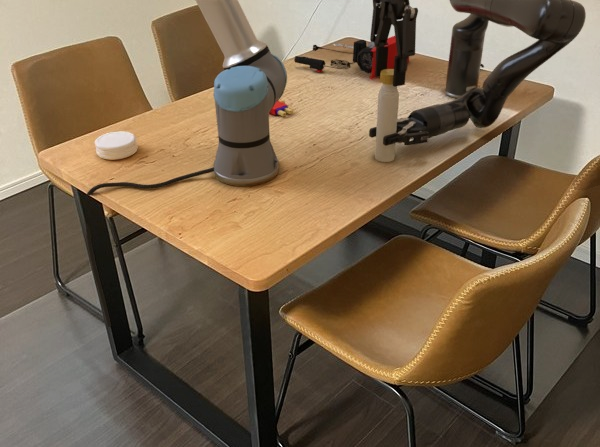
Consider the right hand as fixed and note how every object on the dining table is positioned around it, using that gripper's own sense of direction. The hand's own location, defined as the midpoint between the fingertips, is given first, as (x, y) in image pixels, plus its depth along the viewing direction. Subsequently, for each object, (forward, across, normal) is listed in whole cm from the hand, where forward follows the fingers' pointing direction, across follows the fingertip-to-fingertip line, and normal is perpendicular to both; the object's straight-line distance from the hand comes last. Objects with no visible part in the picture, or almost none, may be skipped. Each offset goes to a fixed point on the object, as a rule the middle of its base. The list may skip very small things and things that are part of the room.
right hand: (377, 137), depth 146 cm
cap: (-3, 0, -15) cm, 15 cm away
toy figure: (+5, -41, +6) cm, 42 cm away
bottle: (-3, 0, +6) cm, 7 cm away
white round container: (+51, -39, +6) cm, 65 cm away
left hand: (-3, 0, -13) cm, 14 cm away
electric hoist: (-37, -62, +6) cm, 73 cm away
